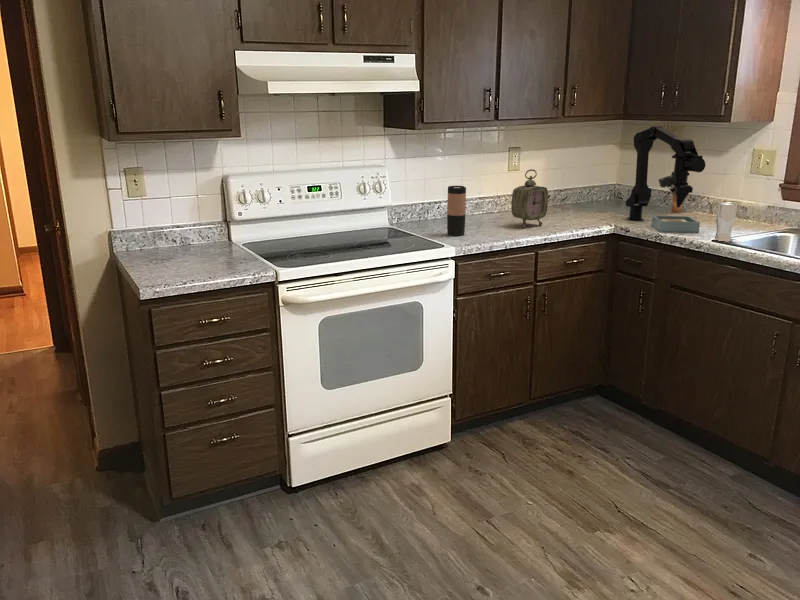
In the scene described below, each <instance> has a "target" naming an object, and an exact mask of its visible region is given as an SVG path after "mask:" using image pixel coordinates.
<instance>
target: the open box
mask: <svg viewBox="0 0 800 600" xmlns="http://www.w3.org/2000/svg"><path fill="white" fill-rule="evenodd" d="M700 225H701V223H700V221H698V220H697V219H695V218H694V217H692V216H690V215H689V216H688V215H685V216H684V215H652V216H651V227H652V226H653V227H652V228H654V229H655V230H656V231H658V232H659V233H674V232H699V233H700V227H701V226H700Z"/></svg>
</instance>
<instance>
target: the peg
mask: <svg viewBox="0 0 800 600" xmlns="http://www.w3.org/2000/svg"><path fill="white" fill-rule="evenodd" d="M682 209H683V203H682V204H681V206H680V207H677V201H676V194H675V193H673V194H672V203H671V211H670V212H671V213H672V214H681V213H682Z"/></svg>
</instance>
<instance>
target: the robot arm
mask: <svg viewBox="0 0 800 600" xmlns="http://www.w3.org/2000/svg"><path fill="white" fill-rule="evenodd" d="M656 140H660V141H662V142H664V143H666V144H667V145H669V146H670V148H671V150H672V151H673V152H674V153H675V154H673V155H672V156H671V158H672V159H674V167H673V171H671V175H667V176H664V177H661V178H659V179H658V182H659V183H658V184H659V186H660V187H661V188H665V187H667V188H668V190H669V191H670V192H671V194H672V195H673V193H675V194H676V201H677V207H680V206H681V204H682V205H683V203H684V201H685V199H686V198H687V196H688V195H689V194H690V193H691V194H692V193H693V190H694V187H692V185H690V184H689V182H688V177H689V176H690V172H693V173H694V172H695V173H701V172H703V171H704V170H705V168H706V161H705V159H704V157H703V155H699V154H698V151H697V148H696V146H695V142H694V141H693V139H690V138H685V137H682V136H681V137H680V136H677V134H674V133H672V132H670V131H669V130H667V129H665V128H664V127H663V126H661V125H653V126H652V125H651V127H649V128H647V129H645V130H642V131H640V132H637V133H636V134H635V135H634V136H633V147H634V149H635V151H636V168H635V184H634V186H633V187H632V188H631V191H630V196H629V197H628V198H627V199H626V201H625V207H629V214H628V216H626V218H627V220H629V221H644V218H643V212H644V211H643V209H644V207H648V205H649V202H650V200H651V198H652V188H650V187H649V185H648V174H649V173H648V172H649V171H648V170H649V158H650V157H649V155H650V154H649V153H650V151H651V149H652V148H653V146H654V142H655V141H656Z"/></svg>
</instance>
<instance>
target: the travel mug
mask: <svg viewBox="0 0 800 600" xmlns="http://www.w3.org/2000/svg"><path fill="white" fill-rule="evenodd" d="M446 203H447V206H446V207H447V208H446V211H447V212H446V221H447V222H446V227H447V231H446V233H447V236H448V237H450V236H451V237H462V236H465V229H466V215H467V213H466V212H467V211H466V210H467V209H466V207H467V206H466V204H467V187H466V186H464V185H448V186H447V202H446Z"/></svg>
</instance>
